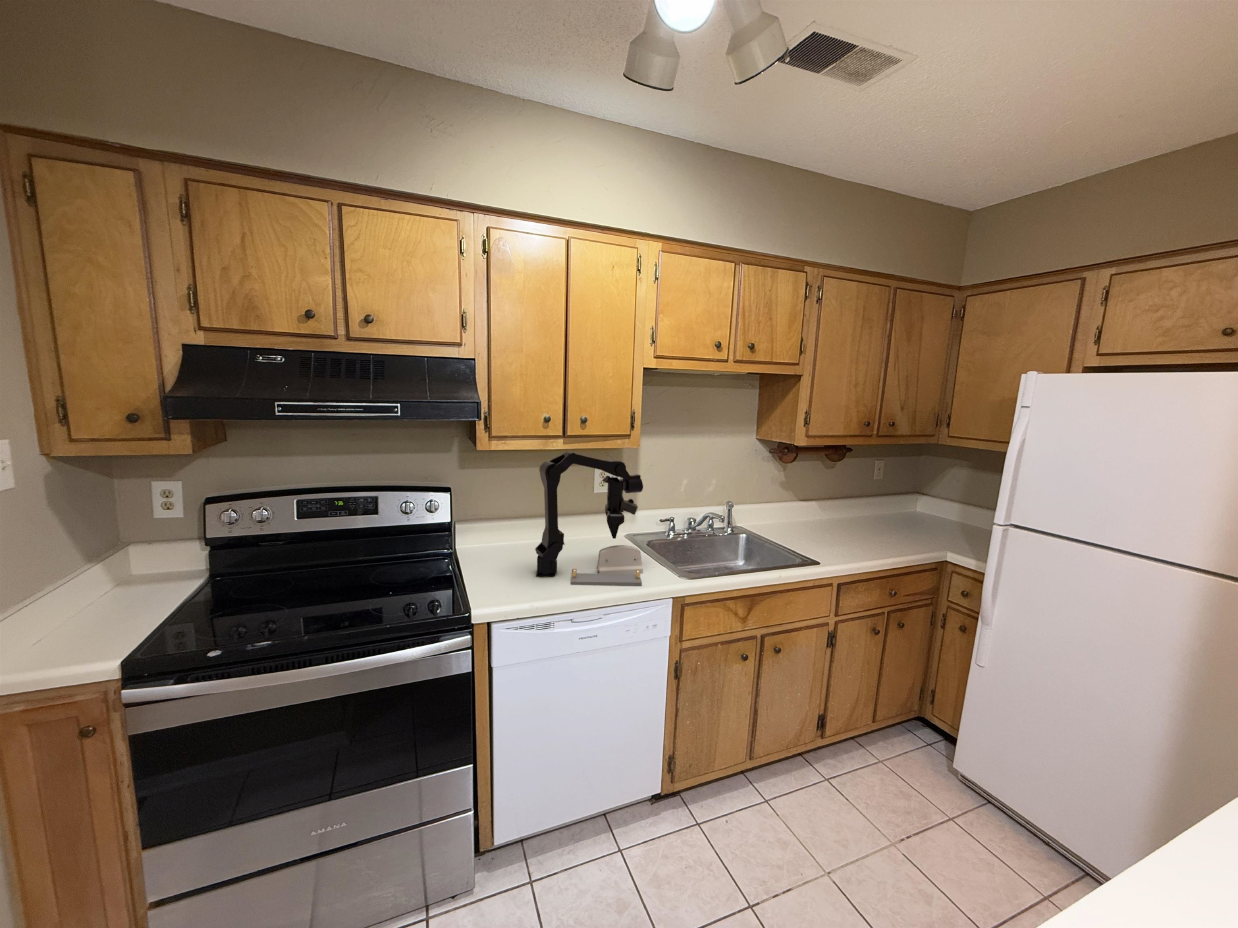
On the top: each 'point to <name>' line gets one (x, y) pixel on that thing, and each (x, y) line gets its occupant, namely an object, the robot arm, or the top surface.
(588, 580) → the plate
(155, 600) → the top surface
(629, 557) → the curved beige panel
